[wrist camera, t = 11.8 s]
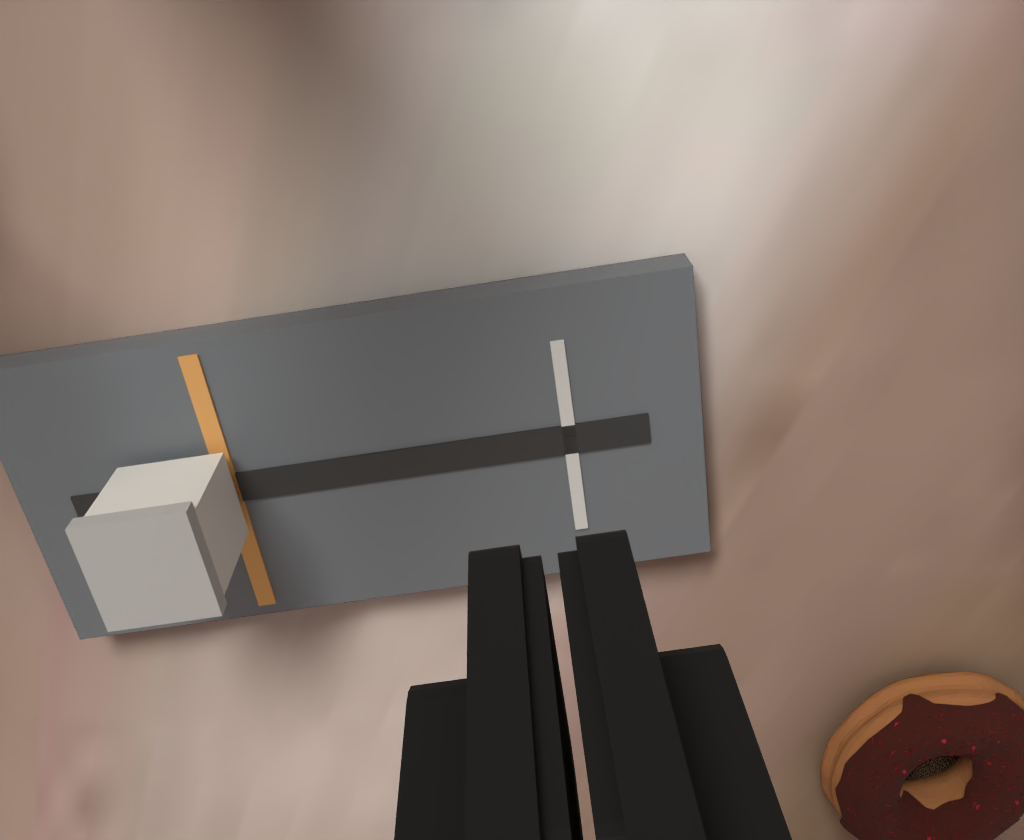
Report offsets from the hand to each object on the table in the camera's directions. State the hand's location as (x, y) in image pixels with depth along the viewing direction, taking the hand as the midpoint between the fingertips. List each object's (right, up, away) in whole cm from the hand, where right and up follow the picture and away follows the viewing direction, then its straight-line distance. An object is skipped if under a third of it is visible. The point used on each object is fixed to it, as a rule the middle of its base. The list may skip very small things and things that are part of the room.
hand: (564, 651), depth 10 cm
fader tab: (-13, 0, +26) cm, 29 cm away
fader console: (-6, +1, +27) cm, 28 cm away
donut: (+19, -13, +36) cm, 42 cm away
